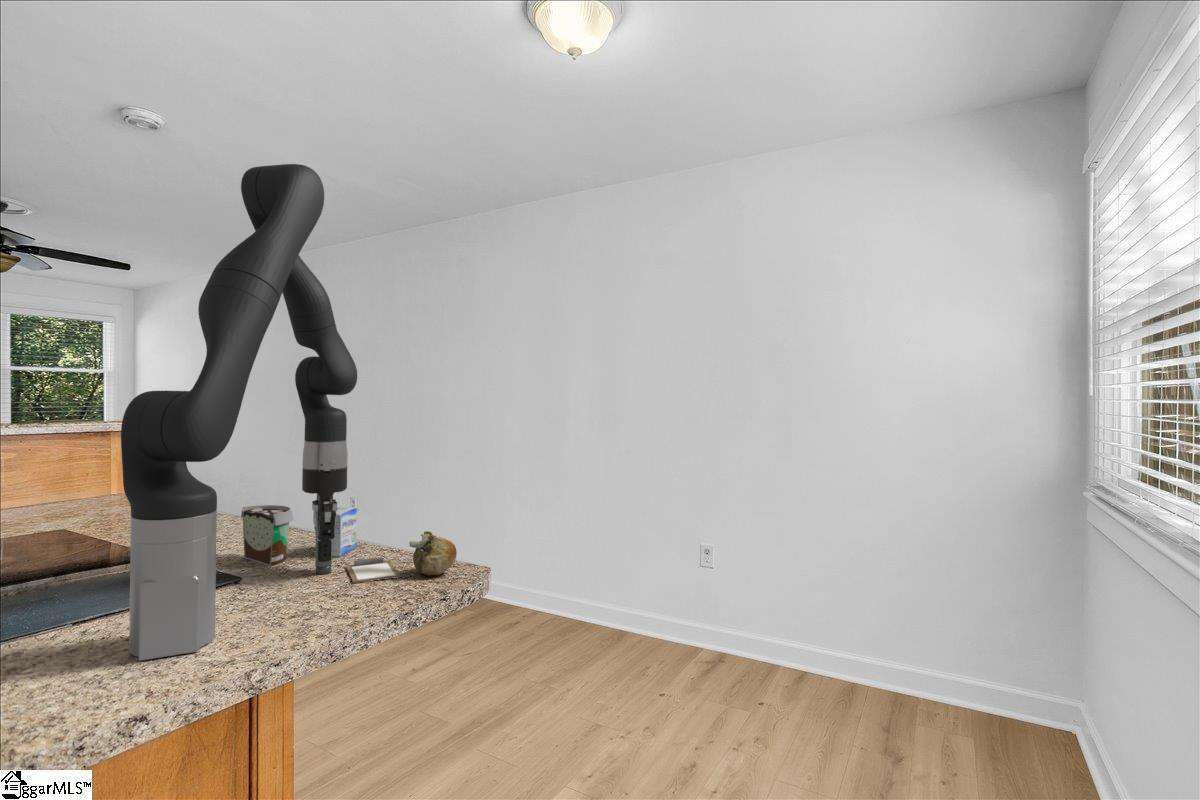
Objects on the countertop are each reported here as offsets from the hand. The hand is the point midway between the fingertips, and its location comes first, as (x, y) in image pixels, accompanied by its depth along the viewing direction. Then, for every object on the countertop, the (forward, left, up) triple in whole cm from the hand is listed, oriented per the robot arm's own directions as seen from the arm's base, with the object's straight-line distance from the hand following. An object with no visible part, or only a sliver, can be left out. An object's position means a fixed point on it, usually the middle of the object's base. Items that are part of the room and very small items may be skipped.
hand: (323, 558), depth 111 cm
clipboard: (-3, -8, -3) cm, 9 cm away
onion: (-9, -18, -3) cm, 20 cm away
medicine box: (+14, -4, -3) cm, 15 cm away
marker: (0, 0, -3) cm, 3 cm away
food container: (+14, +8, -3) cm, 16 cm away
